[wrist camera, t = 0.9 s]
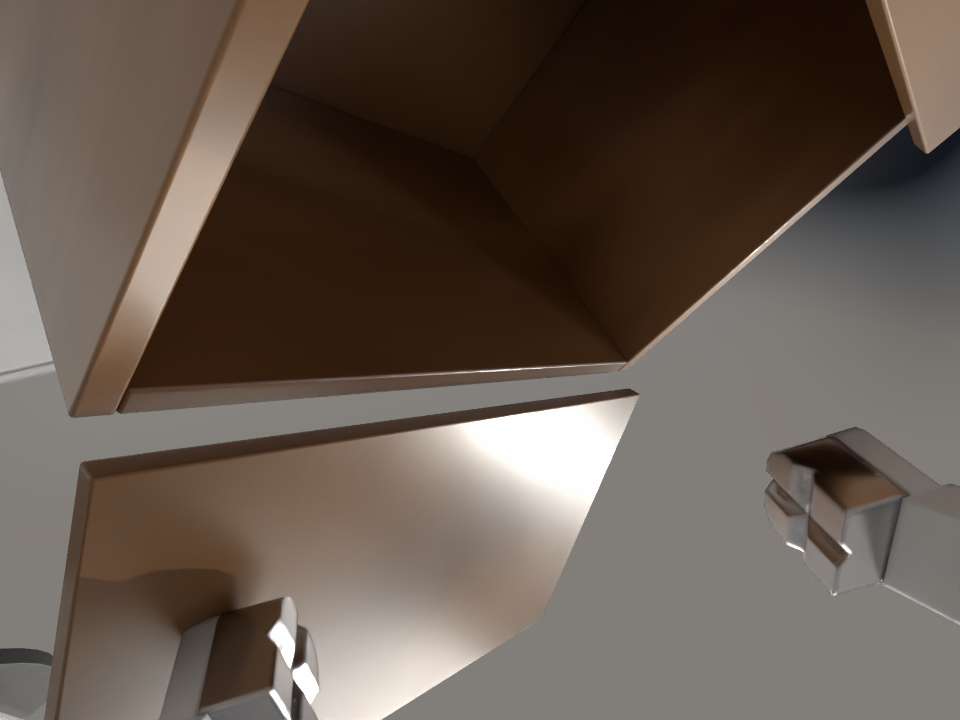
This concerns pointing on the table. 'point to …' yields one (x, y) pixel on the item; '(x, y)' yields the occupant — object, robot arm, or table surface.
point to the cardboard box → (424, 177)
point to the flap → (330, 549)
